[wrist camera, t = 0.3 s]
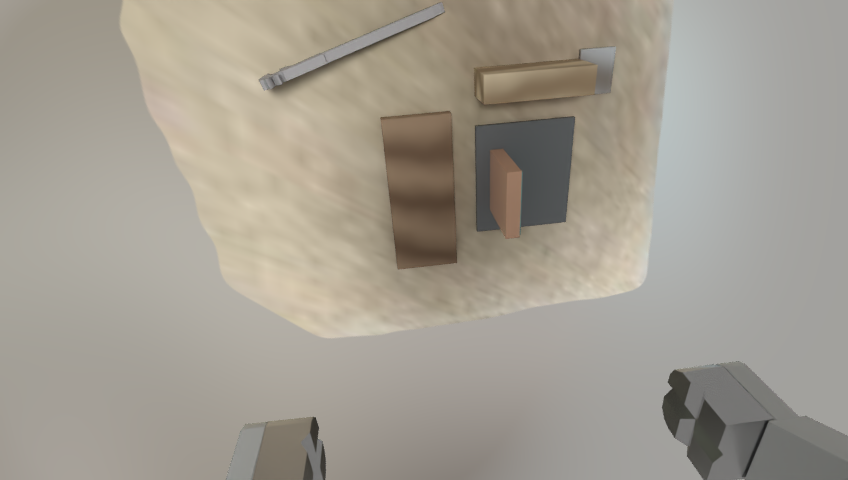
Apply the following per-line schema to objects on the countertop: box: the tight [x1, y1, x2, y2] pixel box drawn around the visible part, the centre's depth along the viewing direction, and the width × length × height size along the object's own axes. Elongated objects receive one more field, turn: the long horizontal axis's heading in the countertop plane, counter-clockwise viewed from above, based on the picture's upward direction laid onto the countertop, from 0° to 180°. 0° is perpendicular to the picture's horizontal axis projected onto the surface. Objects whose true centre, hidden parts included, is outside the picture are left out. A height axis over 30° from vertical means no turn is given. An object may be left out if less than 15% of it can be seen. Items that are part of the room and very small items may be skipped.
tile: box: [490, 149, 523, 239], centre depth 54 cm, size 8×2×8 cm, turn 4°
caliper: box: [259, 2, 445, 91], centre depth 46 cm, size 20×1×6 cm, turn 110°
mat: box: [475, 116, 575, 232], centre depth 58 cm, size 14×12×1 cm
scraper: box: [474, 46, 616, 105], centre depth 50 cm, size 5×16×5 cm, turn 94°
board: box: [381, 111, 457, 269], centre depth 57 cm, size 20×8×1 cm, turn 4°
